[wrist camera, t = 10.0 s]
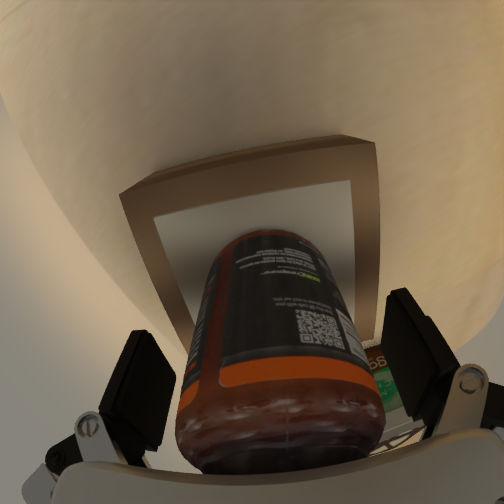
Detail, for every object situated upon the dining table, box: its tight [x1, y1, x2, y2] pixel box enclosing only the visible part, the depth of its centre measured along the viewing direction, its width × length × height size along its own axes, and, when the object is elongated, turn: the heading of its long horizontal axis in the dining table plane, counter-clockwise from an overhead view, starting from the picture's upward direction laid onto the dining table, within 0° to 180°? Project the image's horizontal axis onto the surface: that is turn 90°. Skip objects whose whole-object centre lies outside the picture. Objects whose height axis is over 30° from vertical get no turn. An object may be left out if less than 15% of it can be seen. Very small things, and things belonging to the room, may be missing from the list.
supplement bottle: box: [175, 229, 386, 475], centre depth 9 cm, size 6×6×11 cm
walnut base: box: [119, 135, 380, 356], centre depth 16 cm, size 12×12×5 cm
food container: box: [364, 344, 425, 457], centre depth 20 cm, size 12×6×10 cm, turn 138°
